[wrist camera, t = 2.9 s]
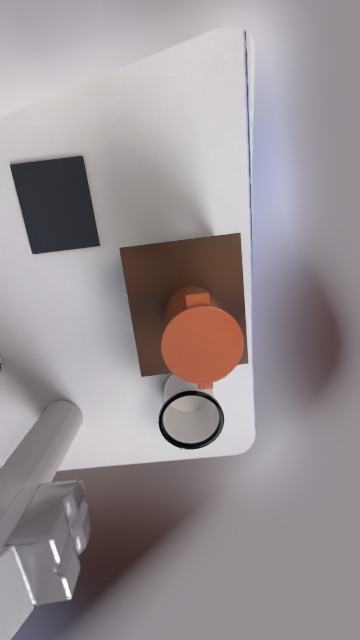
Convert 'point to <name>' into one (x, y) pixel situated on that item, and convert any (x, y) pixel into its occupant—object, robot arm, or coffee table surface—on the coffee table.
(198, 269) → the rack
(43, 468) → the bottle
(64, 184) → the mat
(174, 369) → the orange two-handled pot
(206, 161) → the coffee table surface
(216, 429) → the mug
